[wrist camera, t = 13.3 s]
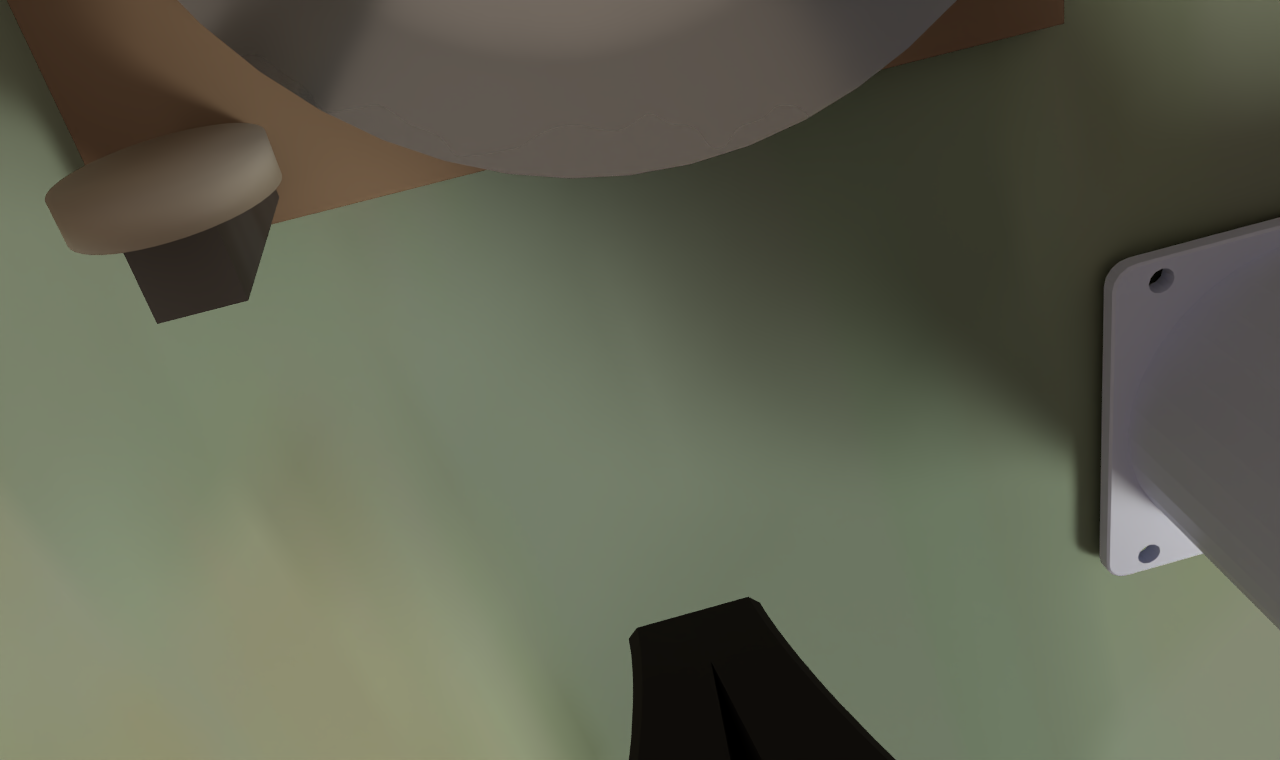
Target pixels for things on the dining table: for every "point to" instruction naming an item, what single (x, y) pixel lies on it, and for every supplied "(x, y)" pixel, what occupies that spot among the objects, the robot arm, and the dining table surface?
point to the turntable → (569, 71)
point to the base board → (250, 140)
